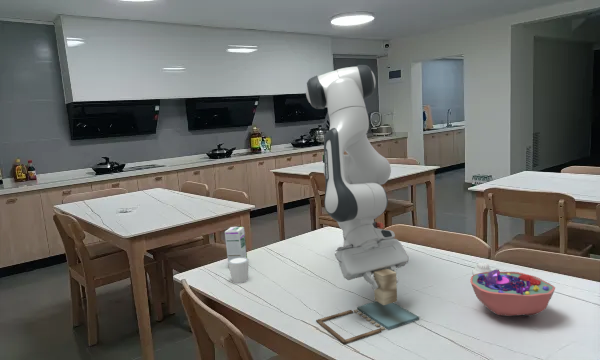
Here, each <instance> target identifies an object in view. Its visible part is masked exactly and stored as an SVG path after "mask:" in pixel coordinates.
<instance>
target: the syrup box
mask: <svg viewBox="0 0 600 360" xmlns="http://www.w3.org/2000/svg"><path fill="white" fill-rule="evenodd" d="M245 235H246V233H245V227H244V226H230V227H229V228H228V229H227V230H225V231H224V238H225V246H226V257H227V264H228V267H229V263H228V261H229V260H231V259H233V258H239V257H244V258H248V253H247V252H248V251H247V244H246V243H247V242H246V236H245Z"/></svg>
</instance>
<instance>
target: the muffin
mask: <svg viewBox="0 0 600 360" xmlns="http://www.w3.org/2000/svg"><path fill="white" fill-rule="evenodd" d="M490 271H493V270H492V269H491V268H490V265H489V263H486V262H478V263H477V264H476V267H475V268H474V269H473V270H472V272H471V274H472V276H473V275H475V274H478V273H483V272H490Z"/></svg>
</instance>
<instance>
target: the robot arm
mask: <svg viewBox="0 0 600 360" xmlns="http://www.w3.org/2000/svg"><path fill="white" fill-rule="evenodd" d="M376 83H377V82H376V77H375V74H374V72H373V70H372V69H371V67H370V66H368V65H366V64H357V65H356V66H350V67H348V66H347V67H342V68H338V69H336V70H333V71H328V72H325V73H323V74H320V75H314V76H312V77H310V78H309V79H308V80H307V82H306V87H305V95H306V96H305V97H306V99H307V101H308V103H310V105H311V107H312V108H314V109H316V110H324V109H325V108H327V114H328V118H329V130H327V131H326V133H325V135H324V140H323V160H324V161H323V162H324V163H323V164H324V165H323V175H324V179H325V181H324V182H325V191H324V197H323V198H324V200H323V201H324V209H325V211H326V213H327V214H328V216H329V217H330V218H331V219H333V220H334V221H335V222H337V224H338V227H339V228H340V229H341V231H342V237H343V246H339V247H337V248H336V249H335V251H334V256H335V258H336V260H337V262H338V264H339V268H340V271H341V274H342V277H343V278H344V279H345V280H347V281H351V280H355V279H359V278H363V280H364V281H366V282H367V283H369V285H371V287H372V289H373V290H376V289H379V288H380V287H381V285H380V284H379V281H378V280H377V281H375V280H374V277H372V275H374V272H375V271H379V270H383V269H389V270H391V271H394V272H396V273H397V268H402V267H405V265H407V264H408V262H409V254H408V252H407V250H406V249H405V248H404V246H403V245H402V243H401V242H400V241H399V240H398V239H397V238H395V237H396V234H395V232H394V231H393V230H391V229H383V228H384V226H385V225H384V223H383V222H381V221H375V220H376V219H378V218H380V216H381V215H383V213H385V211H386V209H387V208H388V204H389V198H388V194H387V191H386V190H385V188H384V187H383V185H384V184H386V183H387V182H388V181H389V179H390V177H391V172H392V169H391V168H392V167H391V164H390V162H389V160H388V159H387V158H386V157H385V156H383V155H381V154H380V153H379V152H378V151H377V150H376V149H375V148H374V146H373V145H372V144H371V142H370V140H369V139H368V136H367V133H368V131H369V129H370V128H369V127H370V126H369V125H370V120H369V119H370V118H369V115H368V111H367V108H366V107H367V106H366V103H365V100H366V99H368V98H369V97H371V96H372V95H373V94H374V92H375V89H376ZM345 152H346V153H347V154H344V153H345ZM396 281H397V284H398V283H399V279H398V277H397V276H396Z"/></svg>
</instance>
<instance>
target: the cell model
mask: <svg viewBox="0 0 600 360" xmlns="http://www.w3.org/2000/svg"><path fill="white" fill-rule="evenodd" d="M470 284H471V286H472V289H473V292H474V294H475V297H476V298H477V300H479V302H480V303H481V304H482V305H483V306H484V307H485V308H487V309H488V310H489V311H491V312H492V313H494V314H496V315H497V316H503V317H505V316H506V317H515V316H525V317H528V316H529V317H530V316H531V317H532V316H535V315H538V314H540V313H542V312H543V311H544V310H545V309H547V307H548V305H549V302H550V300H551V299H552V298H553V294H554V293H555V290H556V287H555V286H554V285H552V284H551V283H549V282H547V281H545V280H544V279H542V278H540V277H537V276H535V275H531V274H527V273H523V272H518V271H501V270H500V269H496V268H495V269H493V270H492V271H490V272H483V273H478V274H475V275H473V274H472V276H471V277H470Z"/></svg>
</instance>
